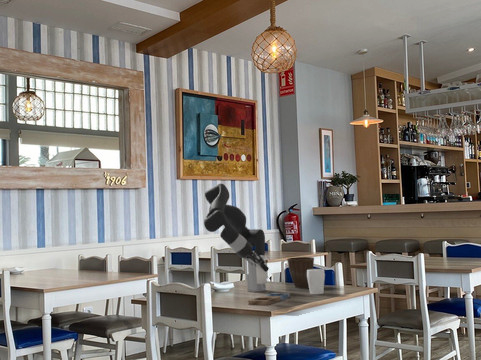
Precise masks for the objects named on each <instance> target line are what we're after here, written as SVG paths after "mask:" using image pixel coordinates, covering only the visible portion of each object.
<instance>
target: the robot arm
mask: <svg viewBox="0 0 481 360" xmlns="http://www.w3.org/2000/svg"><path fill="white" fill-rule="evenodd" d="M204 197H205V199H206V201H207V203H208V204H209V207H208V208H209V209H208V213H207V214H206V216H205V218H204V220H203V226H204V228H205V229H206V230H207V231H208V232H210V233H215V232H216V231H218V230H219V229H220V228H221V227H223V229H222V230H221V232H220V235H219V236H220V238H221V239H222V240H223V241H224V242H225V243H226V244H227V245H228V246H229V247H230V250H232V251H233V252H234V253H235V254H237V256H238V257H239V258H240V259H244V260H246V262H247V273H246V286H247V292H251V293H253V292H257V293H258V292H265V291H267V282H266V283H265V284H257V274H256V264H258V265H259V266H260V267H261V268H262V269H263V270H264V271H265V272H266V273H267V272H268V271H269V269H270V268H269V266H268V265H265V264H264V263H265V262H266V260H265V261H264V260H263V259H262V258H261V256H260V255H264V256H265V254H266V235H265V232H264V230H263V229H261V228H260V229H258V228H257V229H256V228H255V229H251V228H248V227H247V226H246V224H247V216H246V215H245V213H244V212H243V211H242V210H241V208H239V207H237V206H234V205H231V204H227V203H228V201H229V199H230V192H229V189H228V188H227V186H226V185H225V184H224V183H218V184H215V185H213V186H212V187H210V188H208V189H206V191H205V192H204ZM253 248H254V250H253ZM260 262H261V263H260Z"/></svg>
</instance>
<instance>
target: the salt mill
mask: <svg viewBox="0 0 481 360" xmlns="http://www.w3.org/2000/svg"><path fill="white" fill-rule="evenodd" d="M260 256H261V258H262V259H263V260H264V261H265V263H264V264H265V265H266V258H265V255H260ZM260 263H261V262H260ZM266 266H267V265H266ZM256 274H257V284H265V283H266V284H267V272H265V271H264V270H263V269H262V268H261V267H260V266H259V265H258V264H256Z"/></svg>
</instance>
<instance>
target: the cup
mask: <svg viewBox="0 0 481 360" xmlns="http://www.w3.org/2000/svg"><path fill="white" fill-rule="evenodd" d="M325 277H326V274H325V269H324V268H313V269H309V270H307V279H308V285H309V287H308V288H309V289H308V290H309V293H310V295H323V294H324V289H325Z"/></svg>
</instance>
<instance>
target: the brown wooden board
mask: <svg viewBox="0 0 481 360" xmlns="http://www.w3.org/2000/svg"><path fill="white" fill-rule="evenodd" d="M290 298H291V293H289V292H288V293H287V292H272V293H269V294H264V295H262V296H258V297H255V298H252V299H249V300H247V301H248V302H247V303H248V305H249V306H250V305H251V306H268V305H271V304H275V303H277V302H279V301H283V300H286V299H290Z"/></svg>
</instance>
